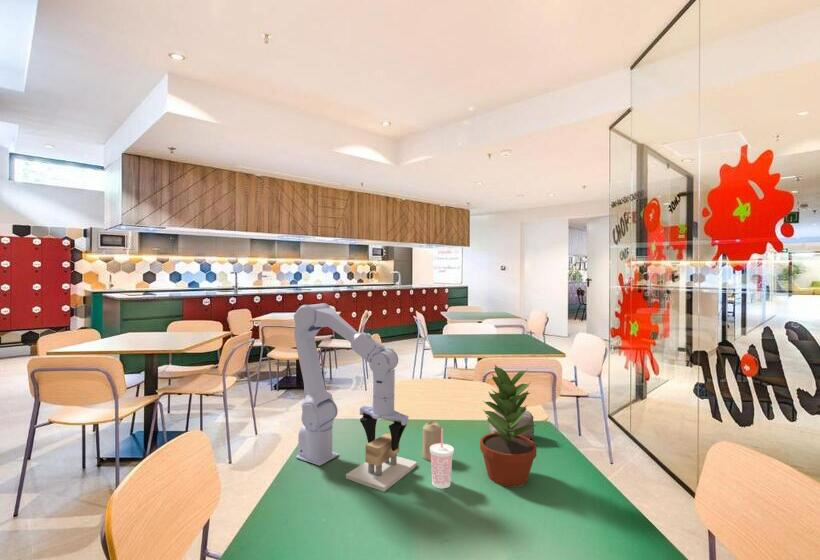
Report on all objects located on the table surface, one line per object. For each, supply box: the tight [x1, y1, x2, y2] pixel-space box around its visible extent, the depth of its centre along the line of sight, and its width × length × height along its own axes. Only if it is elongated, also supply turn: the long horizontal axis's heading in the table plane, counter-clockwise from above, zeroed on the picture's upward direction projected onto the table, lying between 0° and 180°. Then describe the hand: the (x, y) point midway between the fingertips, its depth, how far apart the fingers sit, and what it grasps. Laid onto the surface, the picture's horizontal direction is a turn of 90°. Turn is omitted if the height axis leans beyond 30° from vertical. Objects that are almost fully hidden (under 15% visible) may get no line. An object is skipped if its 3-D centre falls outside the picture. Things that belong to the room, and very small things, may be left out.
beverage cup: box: [430, 427, 455, 489], centre depth 102 cm, size 6×6×14 cm
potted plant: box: [479, 364, 537, 488], centre depth 106 cm, size 15×15×30 cm
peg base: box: [345, 453, 418, 492], centre depth 107 cm, size 12×16×4 cm
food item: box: [488, 410, 535, 440], centre depth 132 cm, size 14×8×10 cm, turn 92°
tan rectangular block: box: [364, 432, 400, 466], centre depth 107 cm, size 10×4×4 cm, turn 149°
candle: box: [422, 420, 443, 462], centre depth 116 cm, size 6×6×10 cm
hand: (382, 446), depth 107 cm, fingers open, 7 cm apart
